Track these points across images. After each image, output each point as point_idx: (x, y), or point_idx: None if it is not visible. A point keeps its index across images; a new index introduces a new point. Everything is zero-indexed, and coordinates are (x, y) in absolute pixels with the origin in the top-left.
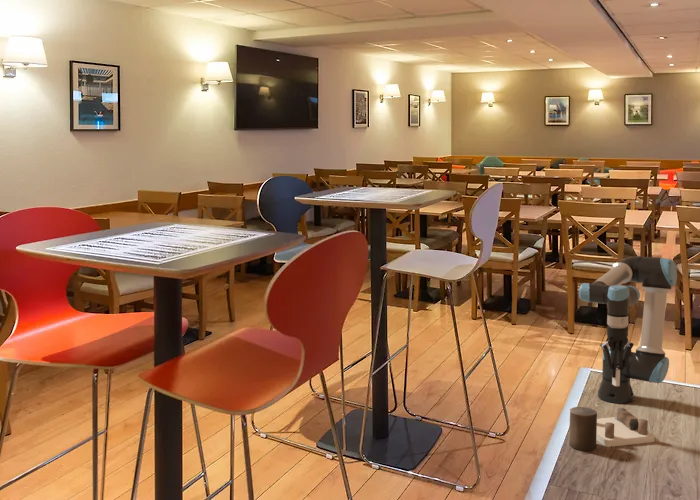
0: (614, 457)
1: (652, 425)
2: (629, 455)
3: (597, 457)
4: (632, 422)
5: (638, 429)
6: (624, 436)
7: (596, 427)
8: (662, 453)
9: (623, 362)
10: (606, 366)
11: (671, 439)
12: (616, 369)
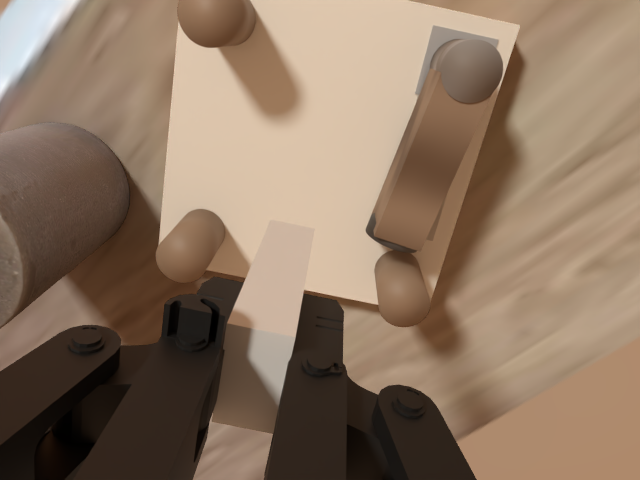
0: (134, 333)
1: (609, 144)
2: None
3: (64, 304)
4: (379, 239)
5: (379, 268)
6: None
7: (59, 279)
8: None
9: (428, 457)
10: (69, 335)
11: (519, 311)
12: (236, 398)
